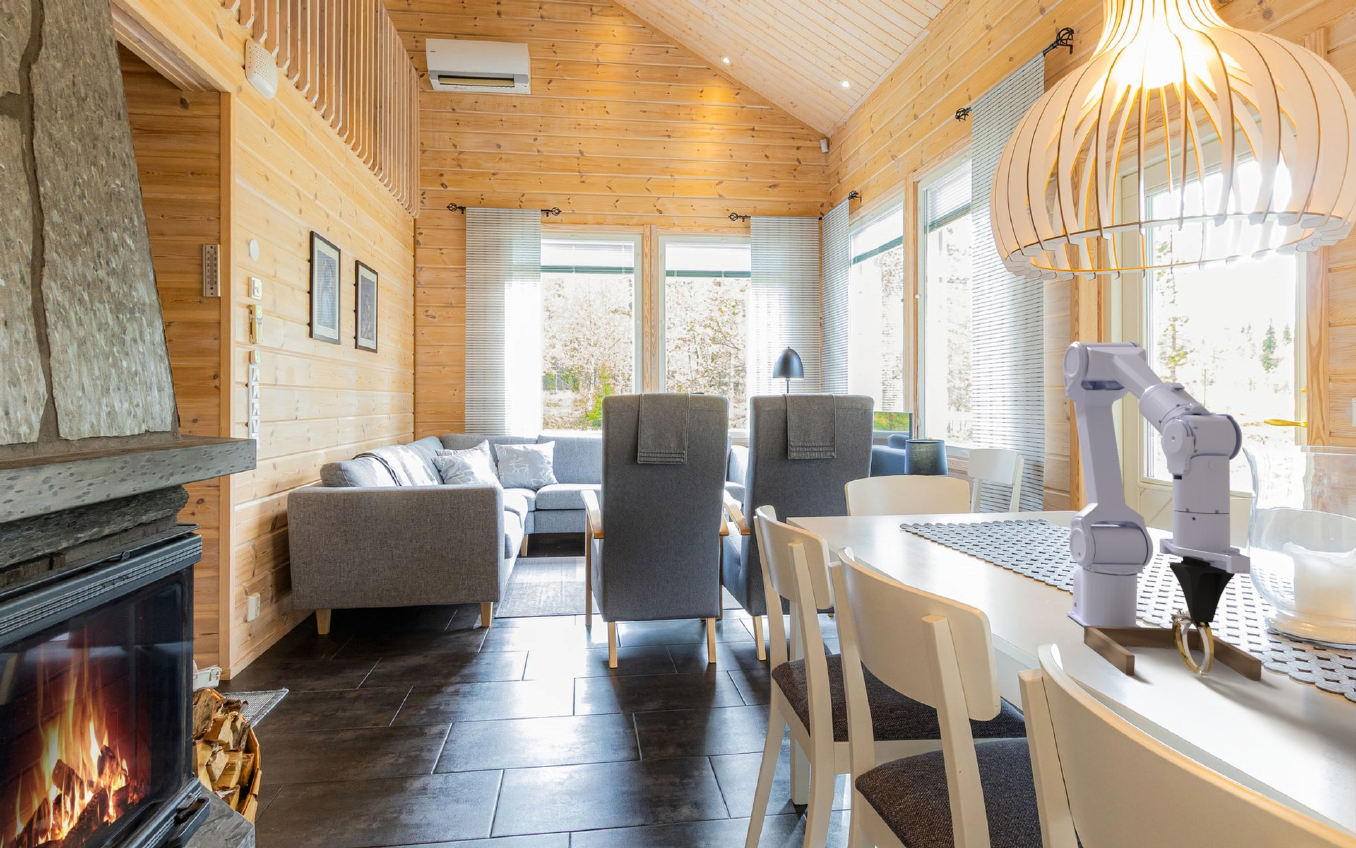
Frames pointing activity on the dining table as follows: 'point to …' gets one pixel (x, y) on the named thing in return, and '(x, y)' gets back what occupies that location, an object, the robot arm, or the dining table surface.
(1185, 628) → the ring
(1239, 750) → the dining table surface
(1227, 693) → the dining table surface
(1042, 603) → the dining table surface
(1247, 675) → the brown u-shaped frame
